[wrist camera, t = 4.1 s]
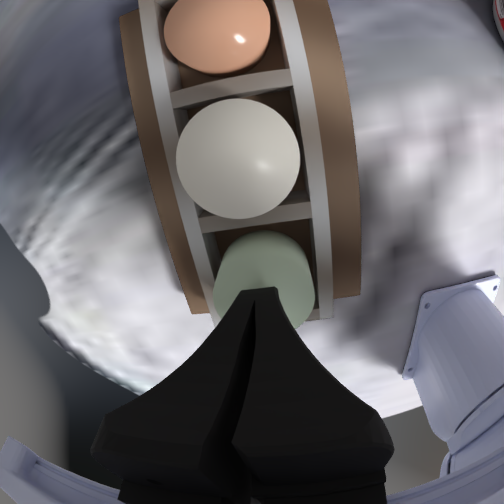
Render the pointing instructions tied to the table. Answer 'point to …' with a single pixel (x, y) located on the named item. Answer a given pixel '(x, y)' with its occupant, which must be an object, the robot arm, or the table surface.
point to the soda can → (499, 16)
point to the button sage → (266, 273)
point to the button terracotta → (218, 35)
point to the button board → (296, 115)
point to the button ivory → (238, 158)
